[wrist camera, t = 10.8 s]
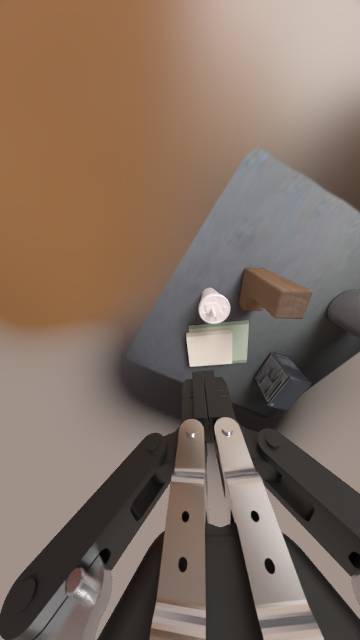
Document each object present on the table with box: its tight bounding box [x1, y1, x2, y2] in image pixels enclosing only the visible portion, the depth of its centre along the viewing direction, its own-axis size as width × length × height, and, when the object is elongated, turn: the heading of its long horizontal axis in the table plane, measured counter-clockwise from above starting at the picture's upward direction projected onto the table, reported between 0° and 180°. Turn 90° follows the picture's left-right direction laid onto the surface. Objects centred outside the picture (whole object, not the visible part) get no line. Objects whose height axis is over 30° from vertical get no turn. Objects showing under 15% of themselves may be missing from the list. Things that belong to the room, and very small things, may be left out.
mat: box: [188, 320, 249, 363], centre depth 51 cm, size 16×14×1 cm
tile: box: [186, 329, 233, 367], centre depth 50 cm, size 2×10×12 cm
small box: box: [254, 352, 311, 410], centre depth 49 cm, size 11×6×10 cm, turn 161°
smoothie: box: [198, 288, 230, 324], centre depth 38 cm, size 6×6×14 cm
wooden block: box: [239, 268, 312, 319], centre depth 35 cm, size 9×4×18 cm, turn 179°
